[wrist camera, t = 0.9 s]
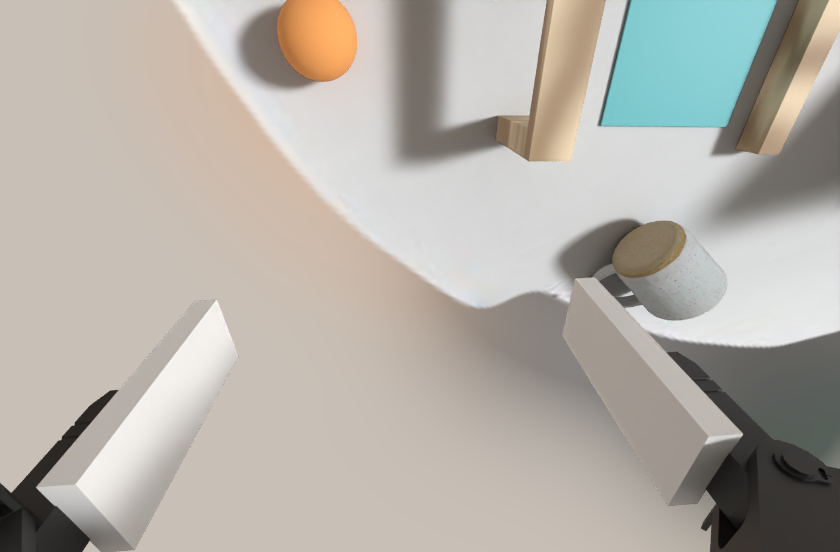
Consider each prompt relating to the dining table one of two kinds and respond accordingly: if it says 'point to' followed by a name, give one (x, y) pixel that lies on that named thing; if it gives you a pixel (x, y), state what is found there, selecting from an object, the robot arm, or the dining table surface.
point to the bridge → (557, 83)
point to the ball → (317, 38)
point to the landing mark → (684, 61)
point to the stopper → (791, 75)
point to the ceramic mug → (666, 272)
